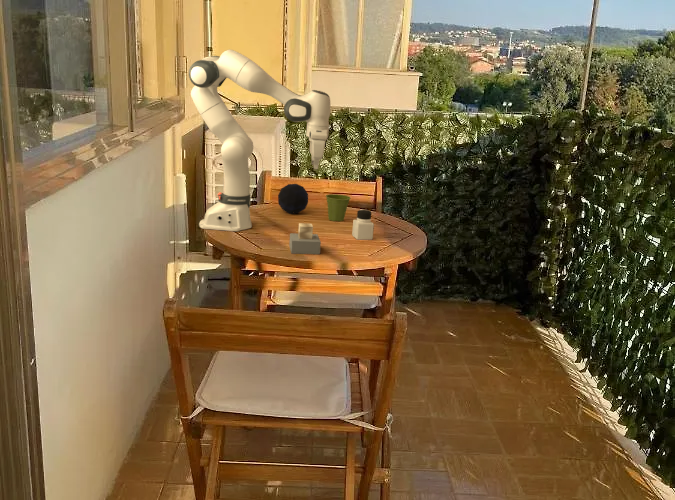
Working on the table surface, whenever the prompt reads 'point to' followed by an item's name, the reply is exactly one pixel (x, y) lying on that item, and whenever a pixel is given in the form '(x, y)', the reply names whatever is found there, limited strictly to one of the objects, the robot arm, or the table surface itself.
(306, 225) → the ash cube
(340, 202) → the plant pot
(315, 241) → the grey block
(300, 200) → the decorative orb
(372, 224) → the medicine bottle
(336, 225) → the table surface
